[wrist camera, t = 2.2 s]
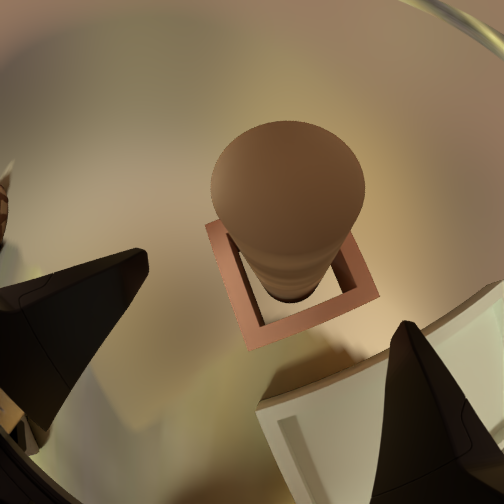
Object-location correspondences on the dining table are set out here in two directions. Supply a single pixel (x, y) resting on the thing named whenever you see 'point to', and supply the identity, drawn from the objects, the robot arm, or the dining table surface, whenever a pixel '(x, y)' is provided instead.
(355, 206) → the dowel
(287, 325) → the square frame
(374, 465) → the tray
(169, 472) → the dining table surface
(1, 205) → the donut
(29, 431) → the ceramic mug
